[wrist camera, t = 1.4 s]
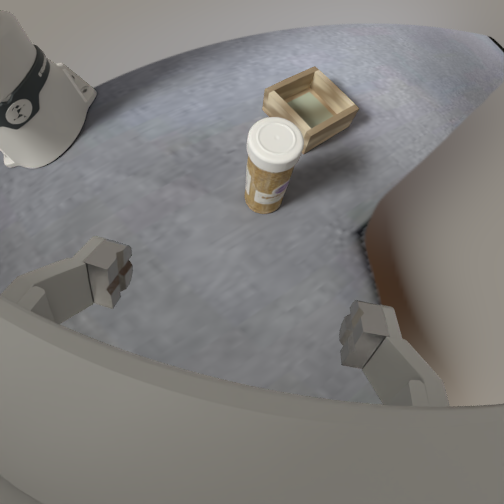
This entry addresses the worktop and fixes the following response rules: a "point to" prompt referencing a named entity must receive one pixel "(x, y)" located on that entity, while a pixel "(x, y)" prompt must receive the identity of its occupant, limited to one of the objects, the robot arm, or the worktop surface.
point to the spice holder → (310, 106)
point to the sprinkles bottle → (271, 162)
